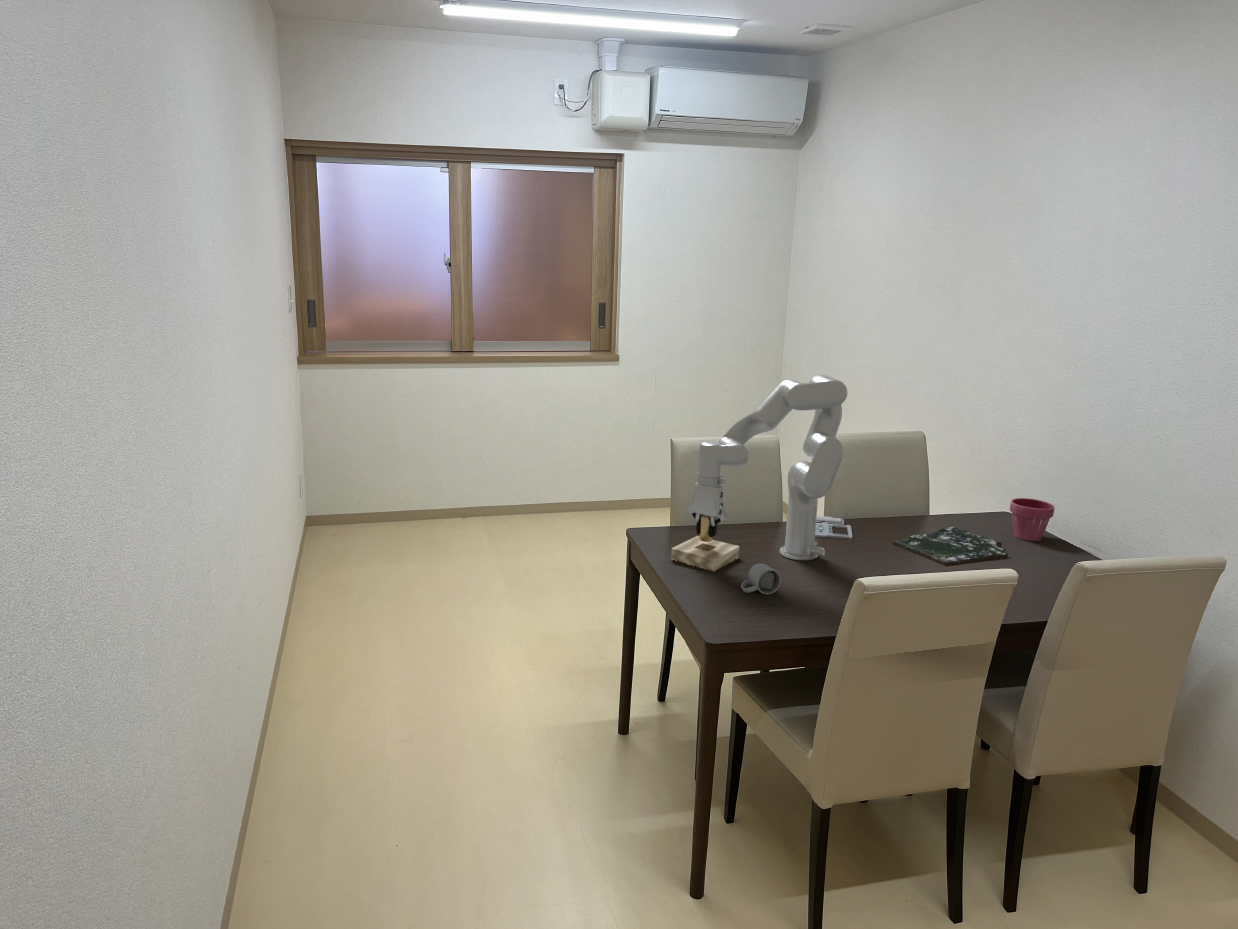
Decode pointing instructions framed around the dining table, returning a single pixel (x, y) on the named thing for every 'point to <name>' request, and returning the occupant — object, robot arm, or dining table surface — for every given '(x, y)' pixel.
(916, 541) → the topographical map
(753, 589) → the ceramic mug
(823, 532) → the office telephone
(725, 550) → the block
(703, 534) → the brass pin
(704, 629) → the dining table surface
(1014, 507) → the plant pot
